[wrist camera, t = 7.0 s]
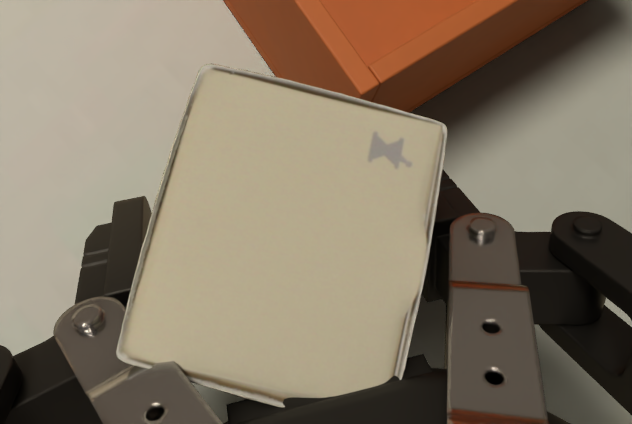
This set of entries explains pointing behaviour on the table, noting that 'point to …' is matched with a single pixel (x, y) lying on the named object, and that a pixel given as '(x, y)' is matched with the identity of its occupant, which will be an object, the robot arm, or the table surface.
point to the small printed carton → (286, 240)
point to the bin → (389, 41)
